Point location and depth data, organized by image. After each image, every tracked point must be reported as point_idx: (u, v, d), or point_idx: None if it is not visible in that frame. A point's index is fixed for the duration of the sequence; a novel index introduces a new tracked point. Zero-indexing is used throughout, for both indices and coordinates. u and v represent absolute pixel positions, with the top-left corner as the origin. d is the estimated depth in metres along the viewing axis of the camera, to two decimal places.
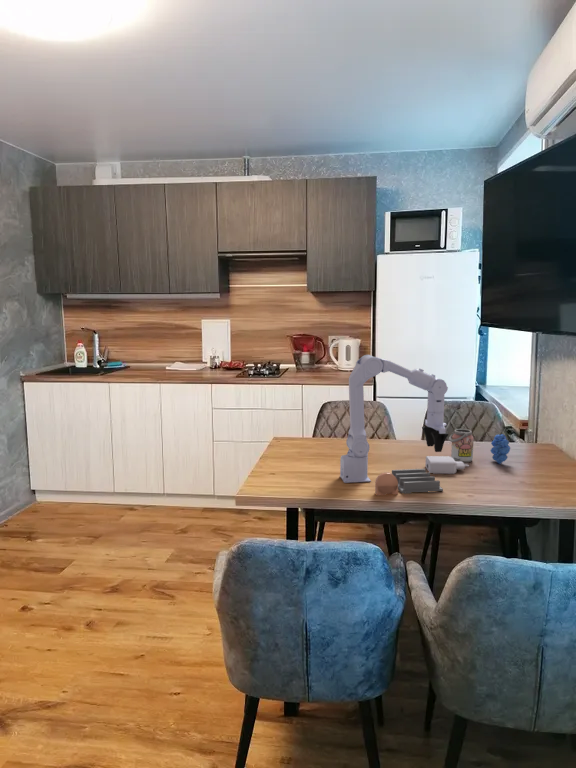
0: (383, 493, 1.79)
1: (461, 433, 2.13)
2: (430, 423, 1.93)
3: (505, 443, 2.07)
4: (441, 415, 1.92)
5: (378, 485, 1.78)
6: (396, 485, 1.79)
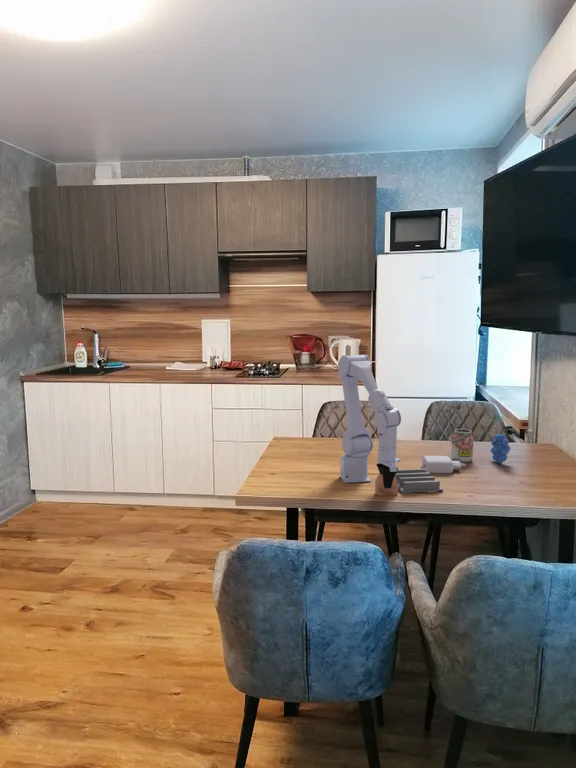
0: (383, 493, 1.79)
1: (461, 433, 2.13)
2: (381, 459, 1.76)
3: (505, 443, 2.07)
4: (393, 450, 1.75)
5: (378, 485, 1.78)
6: (396, 485, 1.79)
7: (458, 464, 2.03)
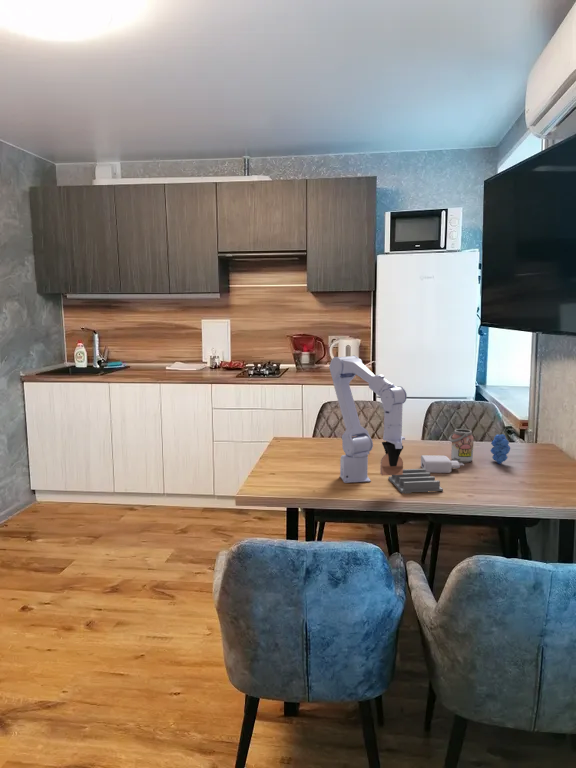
0: (388, 473, 1.79)
1: (461, 433, 2.13)
2: (387, 437, 1.77)
3: (505, 443, 2.07)
4: (398, 428, 1.76)
5: (383, 465, 1.79)
6: (401, 465, 1.79)
7: (456, 464, 2.03)
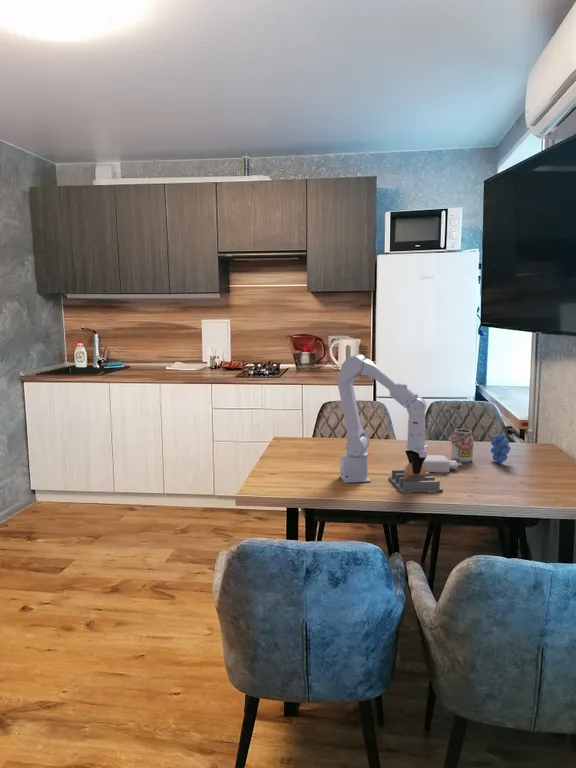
0: None
1: (461, 433, 2.13)
2: (410, 446, 1.84)
3: (505, 443, 2.07)
4: (422, 437, 1.83)
5: (407, 474, 1.86)
6: (424, 474, 1.87)
7: (454, 463, 2.03)
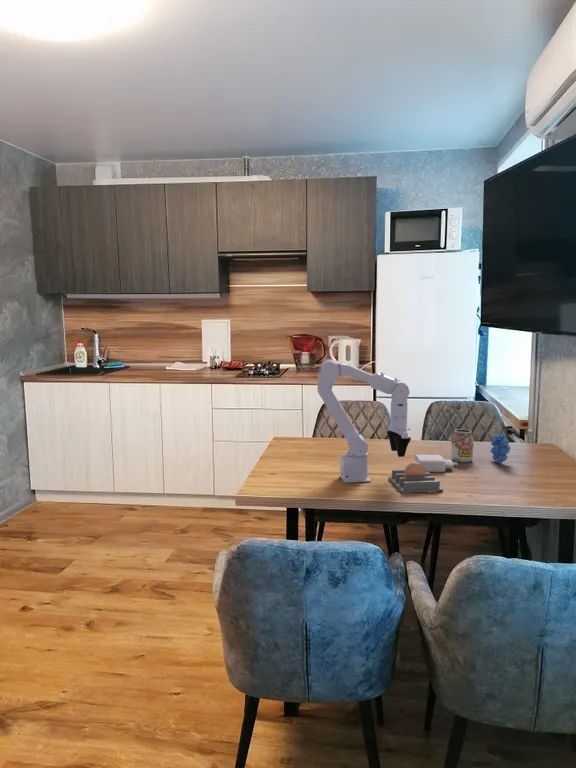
0: None
1: (461, 433, 2.13)
2: (393, 427, 1.90)
3: (505, 443, 2.07)
4: (404, 419, 1.89)
5: (407, 474, 1.86)
6: (424, 474, 1.87)
7: (450, 463, 2.04)
